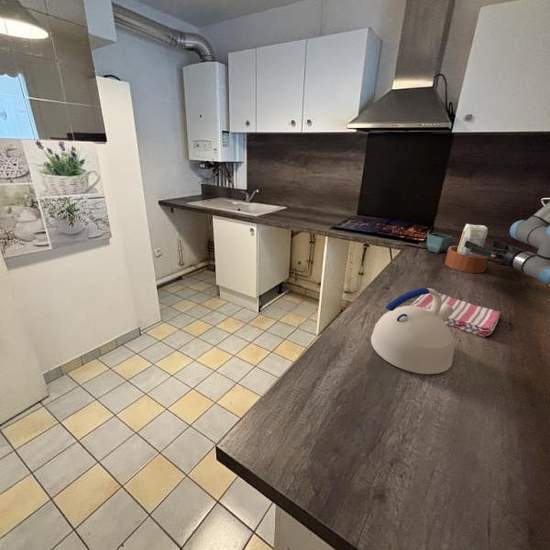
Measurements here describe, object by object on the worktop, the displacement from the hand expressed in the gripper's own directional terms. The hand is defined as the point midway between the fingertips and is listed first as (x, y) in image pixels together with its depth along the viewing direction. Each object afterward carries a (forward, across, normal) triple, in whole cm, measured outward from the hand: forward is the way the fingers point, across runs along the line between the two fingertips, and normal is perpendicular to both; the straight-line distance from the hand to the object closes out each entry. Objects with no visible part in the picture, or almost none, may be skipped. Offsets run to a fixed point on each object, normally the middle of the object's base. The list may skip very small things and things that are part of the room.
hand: (480, 243), depth 129 cm
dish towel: (-38, -35, -13) cm, 53 cm away
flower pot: (+26, -1, -13) cm, 29 cm away
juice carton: (+5, 0, -12) cm, 13 cm away
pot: (+5, 0, -13) cm, 14 cm away
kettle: (-55, -59, -13) cm, 82 cm away
